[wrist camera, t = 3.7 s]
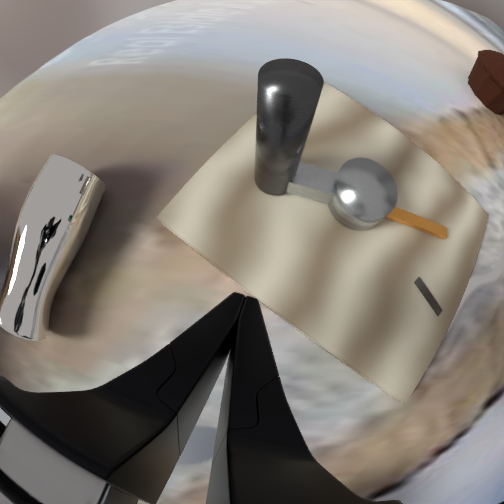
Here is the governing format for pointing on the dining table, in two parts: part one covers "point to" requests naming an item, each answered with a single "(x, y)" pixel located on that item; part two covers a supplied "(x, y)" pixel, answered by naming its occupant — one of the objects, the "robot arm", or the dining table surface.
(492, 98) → the muffin
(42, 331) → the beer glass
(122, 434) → the robot arm
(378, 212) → the cam lever
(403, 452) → the dining table surface
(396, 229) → the dial board
